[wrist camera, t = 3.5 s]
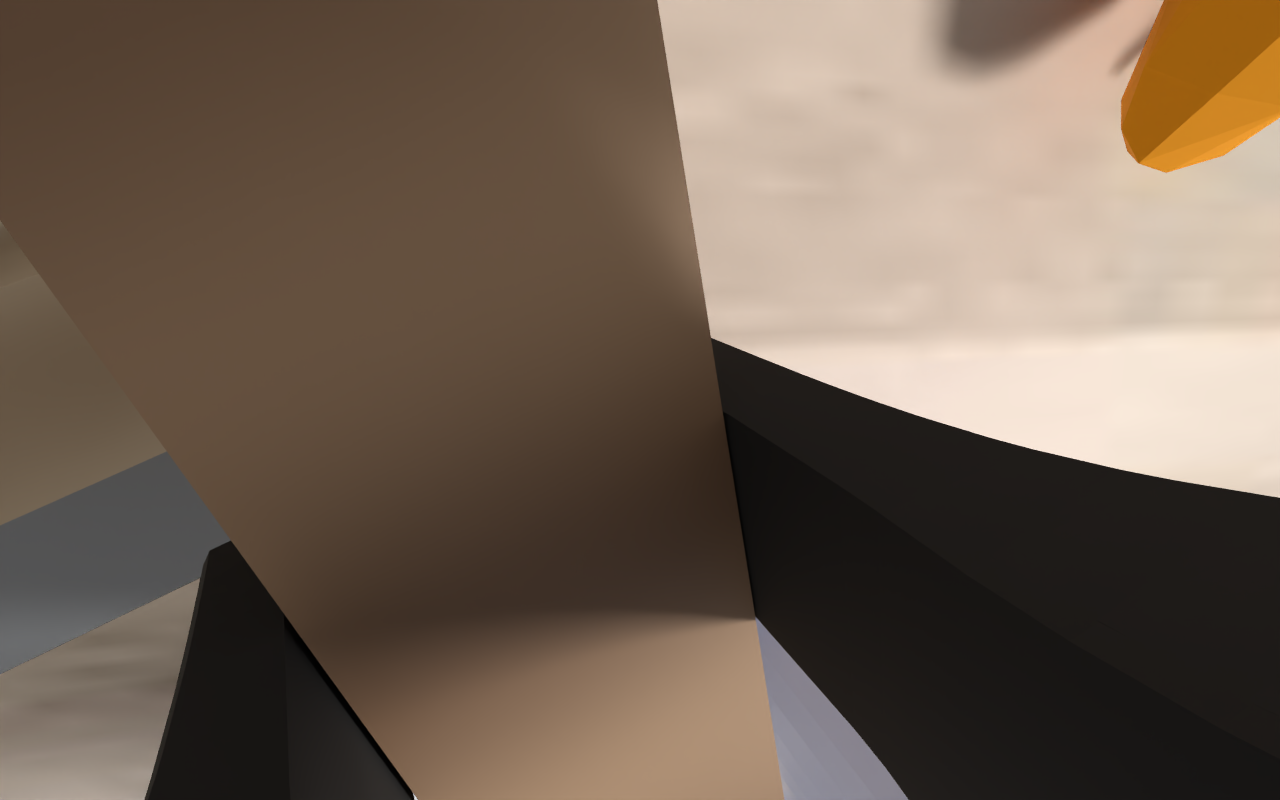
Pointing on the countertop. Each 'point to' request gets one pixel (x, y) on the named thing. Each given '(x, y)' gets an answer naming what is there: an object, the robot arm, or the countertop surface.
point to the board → (99, 556)
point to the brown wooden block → (420, 359)
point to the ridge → (55, 398)
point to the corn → (1203, 81)
